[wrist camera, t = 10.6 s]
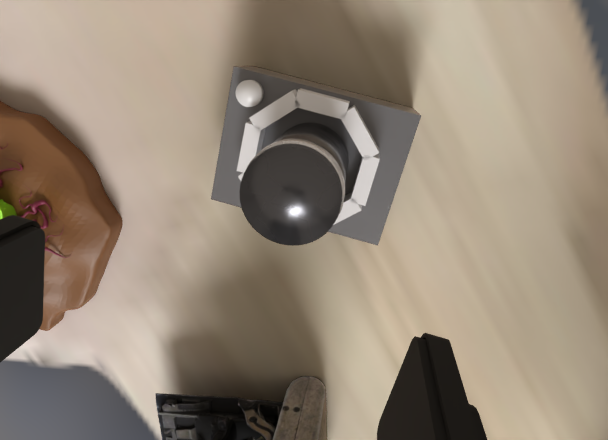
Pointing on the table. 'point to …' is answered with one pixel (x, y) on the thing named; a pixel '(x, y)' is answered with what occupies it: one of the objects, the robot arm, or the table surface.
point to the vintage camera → (246, 415)
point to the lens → (296, 185)
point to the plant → (57, 208)
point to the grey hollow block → (332, 113)
